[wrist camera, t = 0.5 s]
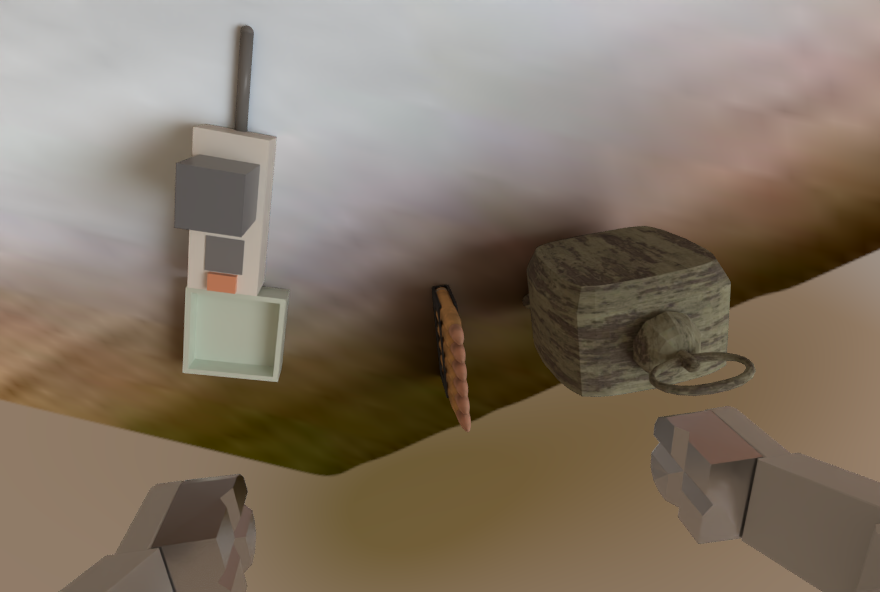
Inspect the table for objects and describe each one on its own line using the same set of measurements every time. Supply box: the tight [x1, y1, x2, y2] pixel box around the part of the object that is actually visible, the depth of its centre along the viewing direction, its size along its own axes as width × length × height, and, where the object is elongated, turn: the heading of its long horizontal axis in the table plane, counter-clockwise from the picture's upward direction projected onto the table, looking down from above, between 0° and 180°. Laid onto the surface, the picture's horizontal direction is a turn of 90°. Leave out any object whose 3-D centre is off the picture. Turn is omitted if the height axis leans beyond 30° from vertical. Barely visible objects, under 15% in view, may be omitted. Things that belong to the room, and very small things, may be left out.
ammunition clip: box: [432, 285, 471, 432], centre depth 51 cm, size 11×2×12 cm, turn 5°
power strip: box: [187, 25, 277, 296], centre depth 46 cm, size 22×6×5 cm, turn 169°
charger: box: [174, 154, 260, 237], centre depth 43 cm, size 5×5×9 cm
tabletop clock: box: [522, 226, 755, 397], centre depth 45 cm, size 14×9×25 cm, turn 99°
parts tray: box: [183, 286, 290, 382], centre depth 52 cm, size 9×9×3 cm
